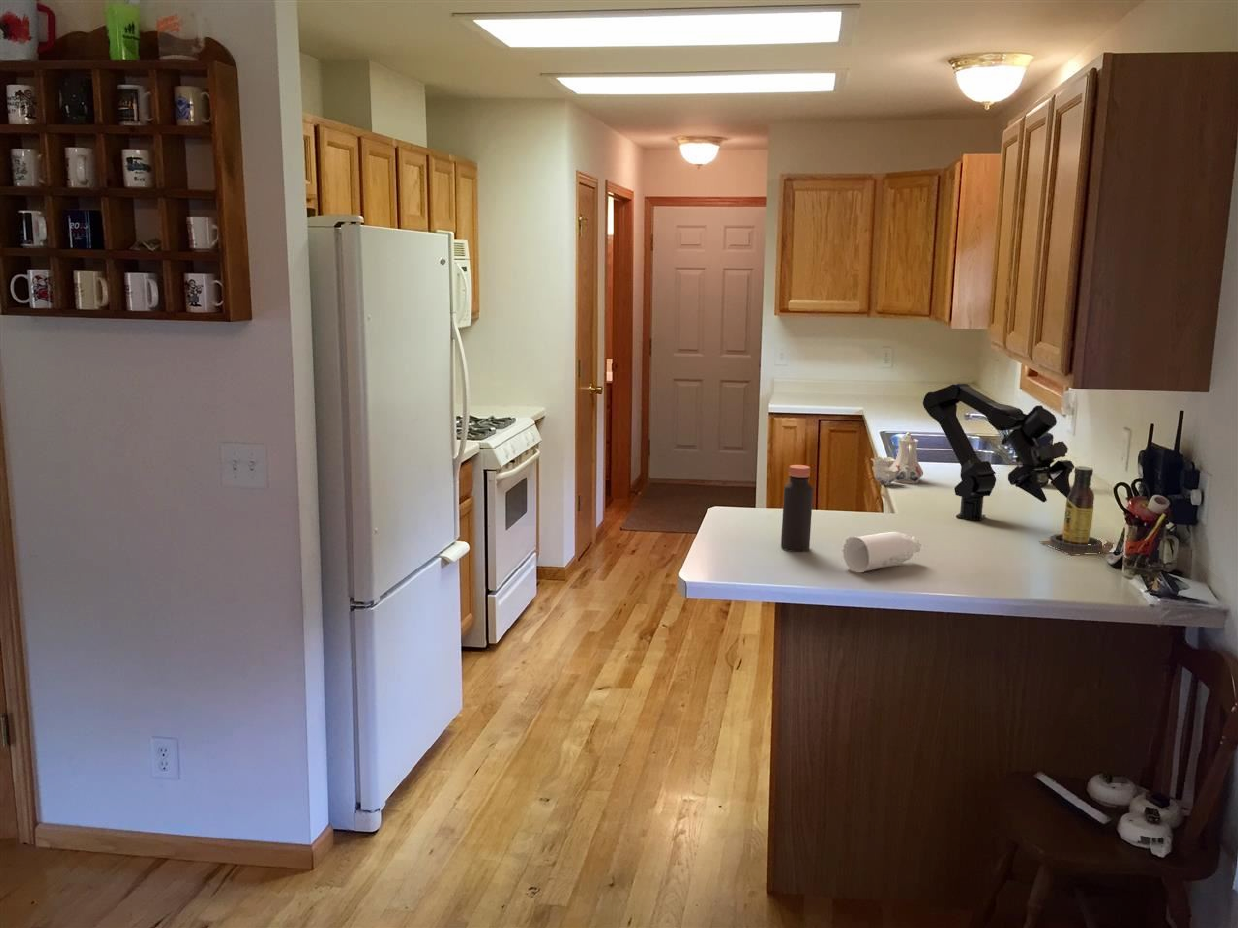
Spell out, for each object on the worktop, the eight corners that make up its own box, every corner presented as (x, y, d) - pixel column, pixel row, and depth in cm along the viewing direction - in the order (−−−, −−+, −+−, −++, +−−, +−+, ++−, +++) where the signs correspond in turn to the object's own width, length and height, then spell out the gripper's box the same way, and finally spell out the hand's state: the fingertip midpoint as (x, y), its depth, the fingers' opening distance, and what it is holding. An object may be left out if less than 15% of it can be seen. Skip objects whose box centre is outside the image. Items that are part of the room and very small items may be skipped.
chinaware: (866, 475, 354) (864, 427, 351) (917, 473, 351) (915, 424, 348) (874, 492, 326) (872, 440, 324) (929, 490, 324) (928, 437, 321)
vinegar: (775, 545, 254) (780, 464, 250) (799, 543, 257) (804, 463, 253) (790, 552, 248) (795, 470, 244) (814, 550, 250) (820, 468, 247)
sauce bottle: (1061, 541, 264) (1070, 464, 260) (1088, 544, 261) (1097, 466, 258) (1060, 547, 258) (1069, 468, 254) (1088, 550, 255) (1097, 470, 252)
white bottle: (927, 566, 240) (930, 533, 238) (865, 576, 230) (868, 541, 229) (901, 558, 246) (904, 525, 245) (841, 567, 237) (843, 533, 235)
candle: (1021, 480, 344) (1027, 426, 340) (1051, 484, 338) (1057, 429, 335) (1013, 484, 336) (1018, 429, 333) (1044, 488, 331) (1050, 432, 327)
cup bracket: (1099, 539, 268) (1100, 532, 268) (1133, 552, 257) (1134, 544, 256) (1039, 542, 264) (1039, 534, 263) (1070, 555, 252) (1071, 547, 252)
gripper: (1021, 432, 260) (1053, 485, 253) (1072, 429, 269) (1104, 479, 261) (993, 458, 268) (1024, 509, 261) (1043, 453, 277) (1074, 503, 270)
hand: (1057, 500), depth 263 cm, fingers open, 9 cm apart
